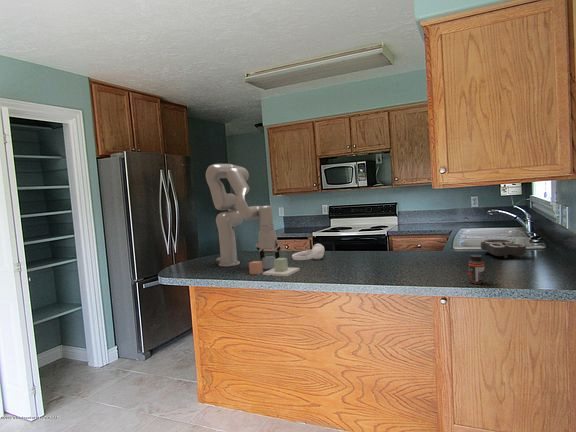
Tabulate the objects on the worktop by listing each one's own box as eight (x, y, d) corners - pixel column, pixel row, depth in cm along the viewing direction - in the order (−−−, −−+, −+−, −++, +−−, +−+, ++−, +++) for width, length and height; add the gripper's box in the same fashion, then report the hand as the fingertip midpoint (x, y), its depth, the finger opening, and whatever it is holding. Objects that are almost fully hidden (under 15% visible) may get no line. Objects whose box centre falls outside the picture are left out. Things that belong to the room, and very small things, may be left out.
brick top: (249, 274, 212) (248, 262, 211) (255, 272, 216) (254, 260, 216) (257, 274, 209) (256, 263, 209) (263, 272, 214) (262, 261, 213)
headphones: (325, 253, 254) (294, 258, 257) (323, 241, 253) (292, 246, 256) (324, 260, 235) (290, 264, 237) (322, 246, 234) (288, 251, 237)
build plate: (262, 275, 207) (261, 261, 207) (276, 269, 219) (275, 255, 219) (286, 276, 200) (285, 262, 200) (299, 270, 212) (298, 256, 212)
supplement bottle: (466, 281, 168) (465, 254, 167) (480, 280, 168) (479, 253, 168) (473, 285, 162) (472, 257, 161) (488, 284, 163) (487, 256, 162)
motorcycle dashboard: (476, 252, 228) (475, 239, 228) (506, 250, 226) (506, 238, 226) (495, 261, 202) (495, 247, 201) (530, 259, 200) (529, 245, 200)
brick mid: (263, 268, 223) (262, 258, 223) (268, 266, 227) (267, 256, 227) (270, 269, 221) (270, 258, 220) (275, 267, 225) (274, 256, 224)
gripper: (250, 229, 223) (253, 260, 224) (276, 228, 215) (280, 260, 216) (257, 227, 230) (260, 257, 231) (283, 226, 221) (286, 257, 222)
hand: (270, 258), depth 223 cm, fingers open, 9 cm apart
